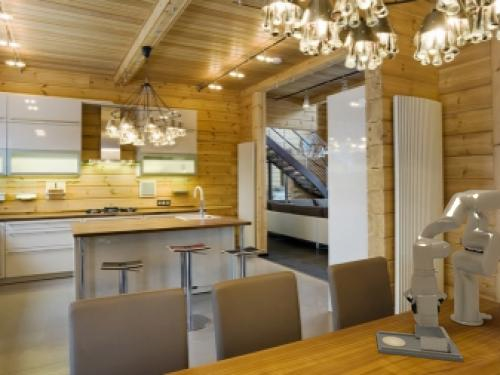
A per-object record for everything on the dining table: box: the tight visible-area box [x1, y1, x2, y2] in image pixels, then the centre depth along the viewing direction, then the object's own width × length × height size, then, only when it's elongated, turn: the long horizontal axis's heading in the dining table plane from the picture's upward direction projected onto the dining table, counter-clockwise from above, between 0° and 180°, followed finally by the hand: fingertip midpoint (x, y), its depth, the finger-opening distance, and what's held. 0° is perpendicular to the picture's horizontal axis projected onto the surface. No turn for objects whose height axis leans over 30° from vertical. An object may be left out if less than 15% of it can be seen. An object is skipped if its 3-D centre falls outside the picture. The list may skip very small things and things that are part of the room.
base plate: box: [375, 330, 464, 363], centre depth 138 cm, size 28×16×2 cm, turn 74°
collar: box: [414, 323, 452, 353], centre depth 136 cm, size 10×12×5 cm
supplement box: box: [413, 295, 439, 326], centre depth 150 cm, size 7×7×13 cm
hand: (425, 313), depth 150 cm, fingers closed on supplement box, 8 cm apart
